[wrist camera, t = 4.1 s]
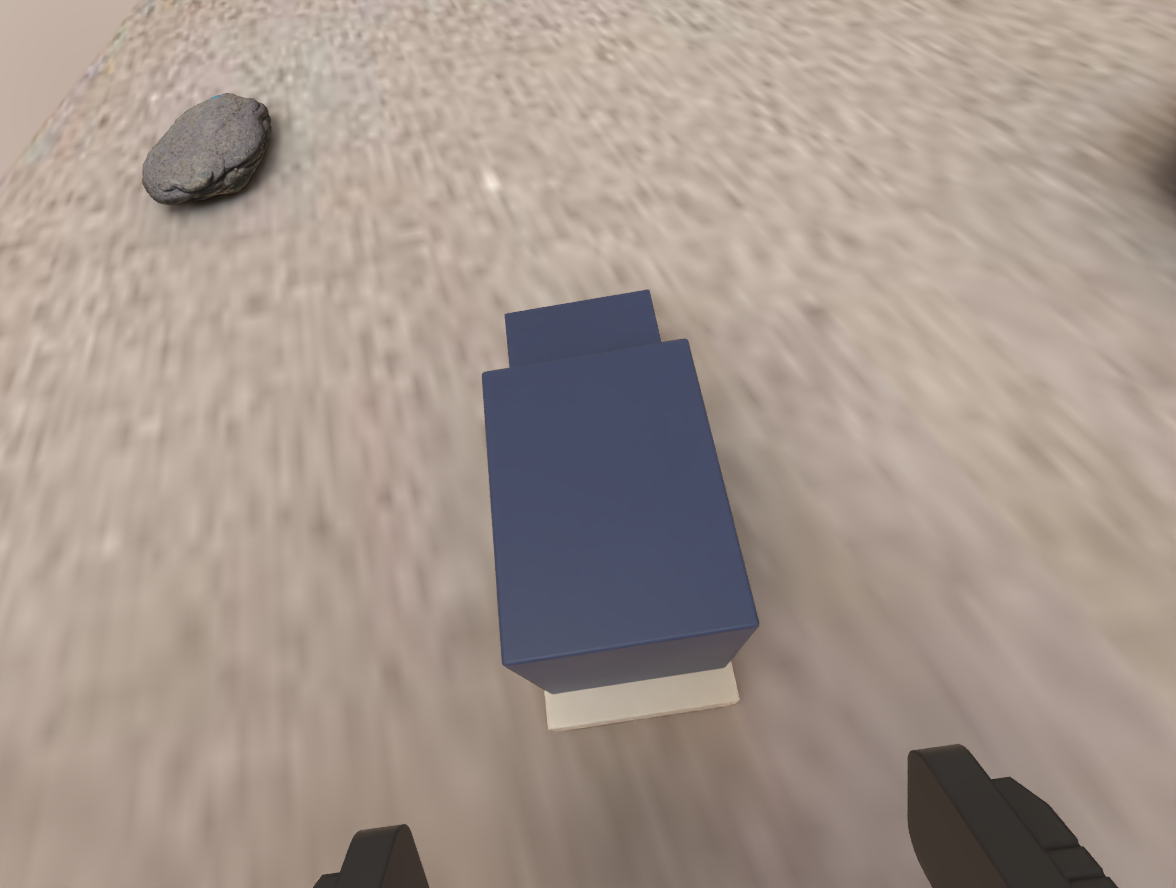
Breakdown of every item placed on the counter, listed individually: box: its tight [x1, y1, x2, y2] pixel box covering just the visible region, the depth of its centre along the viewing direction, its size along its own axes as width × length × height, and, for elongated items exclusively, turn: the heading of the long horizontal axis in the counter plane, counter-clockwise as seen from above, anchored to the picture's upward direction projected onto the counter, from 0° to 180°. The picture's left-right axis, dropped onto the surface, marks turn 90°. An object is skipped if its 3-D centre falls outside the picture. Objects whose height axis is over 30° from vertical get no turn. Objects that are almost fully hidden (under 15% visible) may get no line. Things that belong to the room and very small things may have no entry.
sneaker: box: [482, 290, 759, 732], centre depth 20 cm, size 14×6×9 cm, turn 8°
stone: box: [142, 93, 271, 205], centre depth 35 cm, size 7×8×2 cm
